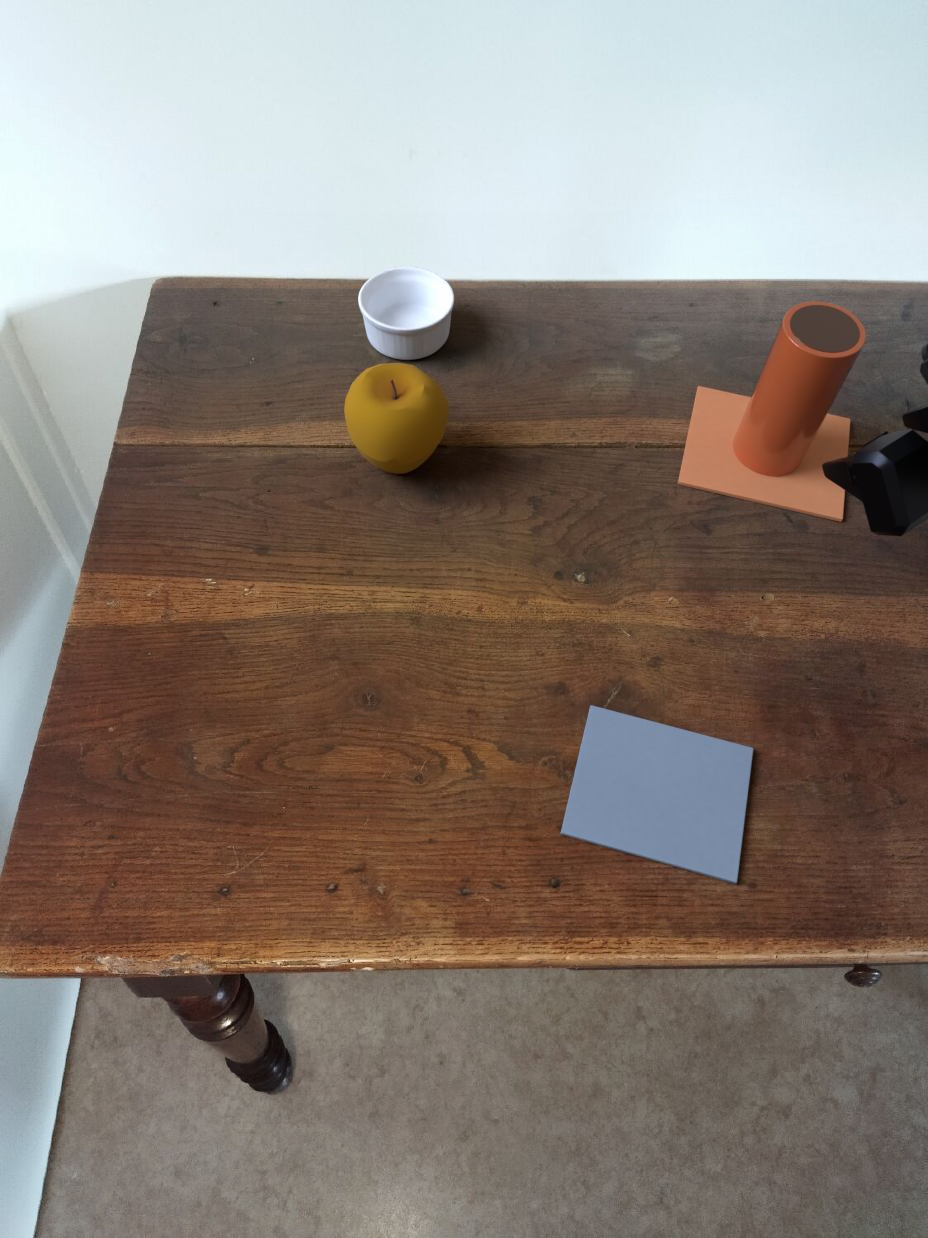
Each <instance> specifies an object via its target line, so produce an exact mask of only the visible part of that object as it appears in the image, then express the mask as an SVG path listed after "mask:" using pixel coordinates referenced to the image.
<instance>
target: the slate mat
mask: <svg viewBox="0 0 928 1238" xmlns="http://www.w3.org/2000/svg"><path fill="white" fill-rule="evenodd" d="M586 718H587V719H586V722H585V726H584V731H583V736H582V739H581V743H580V748H579V752H578V757H577V761H576V765H575V769H574V774H573V778H572V781H571V786H570V791H569V795H568V800H567V803H566V808H565V813H564V816H563V821H562V826H561V830H560V835H562V836H565V837H568V838H571V839H575V840H580V841H583V842H587V843H589V844H593V845H597V846H599V847H604V848H607V849H611V850H614V851H618V852H621V853H625V854H628V855H632V856H636V857H638V858H639V857H640V858H641V859H642V858H643V859H646V860H650V861H654V862H655V863H656V862H657V863H659V864H660V863H661V864H664V865H668V866H670V867H673V868H677V869H682V870H685V871H688V872H692V873H695V874H699V875H702V876H707V877H708V878H709V877H710V878H713V879H716V880H720V881H724V882H726V883H731V884H735V885H736V884H737V883H738V880H739V879H738V877H739V870H740V861H741V854H742V847H743V846H742V844H743V837H744V830H745V829H744V828H745V823H746V822H745V820H746V814H747V813H746V812H747V805H748V795H749V789H750V780H751V772H752V764H753V756H754V747H752V746H751V747H750V746H749V745H744V744H740V743H737V742H732V741H729V740H725V739H721V738H718V737H714V736H709V735H706V734H702V733H699V732H694V731H692V730H691V731H690V730H687V729H683V728H679V727H675V726H672V725H668V724H664V723H661V722H657V721H653V720H649V719H645V718H641V717H638V716H633V715H630V714H627V713H622V712H618V711H615V710H611V709H608V708H605V707H604V708H603V707H600V706H596V705H592V704H590V705H589V708H588V713H587V717H586Z"/></svg>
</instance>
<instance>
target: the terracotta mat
mask: <svg viewBox="0 0 928 1238" xmlns="http://www.w3.org/2000/svg"><path fill="white" fill-rule="evenodd" d="M694 397H695V398H694V402H693V406H692V412H691V417H690V421H689V426H688V430H687V431H688V432H687V436H686V441H685V446H684V451H683V456H682V460H681V465H680V470H679V474H678V475H679V476H678V480H677V485H679V486H683V487H686V488H690V489H691V488H692V489H696V490H701V491H703V492H704V491H705V492H709V493H714V494H718V495H721V496H727V497H731V498H735V499H740V500H743V501H747V502H748V501H749V502H752V503H756V504H761V505H766V506H770V507H774V508H779V509H783V510H787V511H791V512H796V513H800V514H804V515H809V516H812V517H818V518H822V519H827V520H831V521H835V522H840V523H842V521H843V520H844V507H845V496H846V490H844V489H842V488H841V487H839V486H838V485H836V484H835V483H833V482H832V481H830V480H829V479H827V478H826V477H825V476H824V472H823V469H822V464H824V463H825V462H828V461H832V460H836V459H840V458H844V457H849V443H850V432H851V418H849V417H844V416H841V415H835V414H831V413H828V414H827V415H826V417H825V419H824V421H823V423H822V425H821V427H820V429H819V431H818V433H817V434H816V436H815V438H814V440H813V442H812V444H811V446H810V448H809V450H808V451H807V453H806V455H805V457H804V459H803V461H802V463H801V464H800V466H799V467H798V468H797V469H796V470H795V471H793V472H791V473H789V474H787V475H783V476H766V475H762V474H759V473H756V472H754V471H752V470H750V469H748V468H747V467H746V466H744V465H743V464H742V463H741V462H740V461H739V460H738V458H737V457H736V455H735V453H734V449H733V439H734V436H735V434H736V432H737V429H738V427H739V424H740V422H741V420H742V417H743V415H744V412H745V410H746V408H747V405H748V403H749V400H750V398H751V396H749V395H742V394H738V393H733V392H729V391H724V390H719V389H715V388H710V387H706V386H702V385H701V386H700V385H698V386H697V388H696V393H695V396H694Z"/></svg>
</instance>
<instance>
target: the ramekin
mask: <svg viewBox="0 0 928 1238" xmlns="http://www.w3.org/2000/svg"><path fill="white" fill-rule="evenodd" d="M357 298H358V299H357V300H358V301H357V302H358V306H359V310H360V313H361V314H362V319H363V322H364V329H365V333H366V337H367V340H368V341H369V344H370V345H371V346H372V347H373V348H374V349H375V350H376V351H377V352H379V353H380V354H382V355H384V356H386V357H389V358H392V359H395V360H402V361H411V360H413V361H414V360H418V359H419V360H420V359H422V358H426V357H429V356H431V355H432V354H433V355H434V353H436V352H437V351H438V350H440V349H441V348H442V347H443V346H444V345H445V344H446V342H447V340H448V339H449V335H450V329H451V320H452V311H453V308H454V303H455V294H454V290H453V288H452V286H451V285H450V284H449V282H448V281H447V280H446V279H445V278H444V277H442V276H441V275H439V274H437V272H433V271H431V270H429V269H426V268H423V267H416V266H399V267H398V266H397V267H392V268H387V269H384V270H381V271H380V272H378V273H376V274H374V275H372V276H371V277H370V278H369V279H367V280H366V281H365V282H364V283H363V285H362V286H361V288H360V289H359V292H358V297H357Z"/></svg>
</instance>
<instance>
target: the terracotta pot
mask: <svg viewBox="0 0 928 1238" xmlns="http://www.w3.org/2000/svg"><path fill="white" fill-rule="evenodd" d="M866 334H867V333H866V330H865V327H864V325H863V323H862V322H861V321H860V319H859V318H858V317H857V316H856V315H854V314H853V313H852V312H851V311H849V310H847V309H846V308H844V307H842V306H840V305H838V304H834V303H830V302H825V301H816V300H815V301H806V302H801V303H798V304H796V305H793V306H792V307H791V308H790V309H789V310H788V311H787V312H786V313H785V314H784V317H783V319H782V320H781V323H780V326H779V328H778V330H777V333H776V335H775V338H774V340H773V342H772V345H771V347H770V350H769V353H768V355H767V357H766V360H765V362H764V364H763V367H762V368H761V372H760V374H759V375H758V376H759V377H758V378H757V381H756V384H755V386H754V387H753V391H752V392H751V395H750V397H751V398H750V400H749V403H748V405H747V408H746V410H745V412H744V415H743V417H742V420H741V422H740V424H739V427H738V429H737V432H736V434H735V436H734V439H733V449H734V453H735V455H736V457H737V458H738V460H739V461H740V462H741V463H742V464H743V465H744V466H746V467H747V468H748V469H750V470H752V471H754V472H756V473H759V474H762V475H766V476H783V475H787V474H789V473H791V472H793V471H795V470H796V469H797V468H798V467H799V466H800V464H801V463H802V461H803V459H804V457H805V455H806V453H807V451H808V450H809V448H810V446H811V444H812V442H813V440H814V438H815V436H816V434H817V433H818V431H819V429H820V427H821V425H822V423H823V421H824V419H825V417H826V415H827V414H829V411H830V410H831V408H832V406H833V404H834V402H835V400H836V399H837V397H838V395H839V393H840V391H841V389H842V387H843V385H844V384H845V381H846V379H847V378H848V376H849V374H850V372H851V370H852V368H853V366H854V364H855V362H857V361H856V360H857V359H858V357H859V355H860V353H861V351H862V349H863V347H864V346H865V343H866V341H867V340H866V339H867V335H866Z"/></svg>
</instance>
